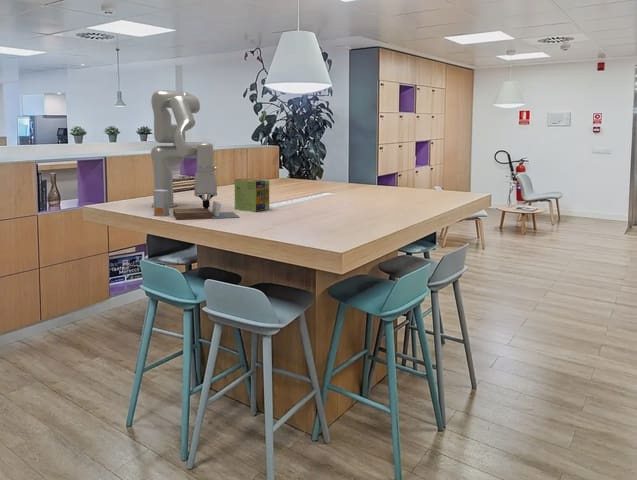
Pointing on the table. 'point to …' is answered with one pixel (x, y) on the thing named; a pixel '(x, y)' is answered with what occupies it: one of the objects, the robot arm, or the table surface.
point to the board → (192, 213)
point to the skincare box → (161, 202)
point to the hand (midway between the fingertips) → (206, 208)
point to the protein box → (252, 194)
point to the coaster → (216, 208)
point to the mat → (225, 215)
